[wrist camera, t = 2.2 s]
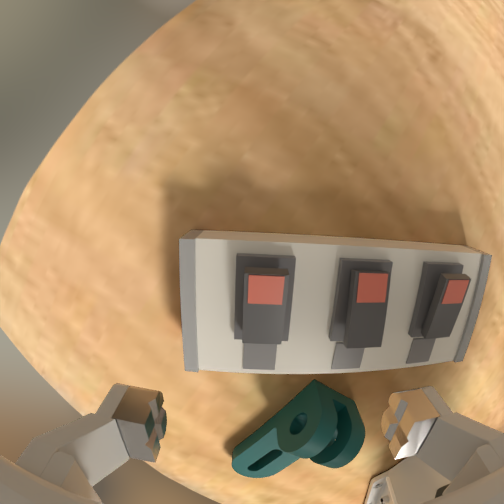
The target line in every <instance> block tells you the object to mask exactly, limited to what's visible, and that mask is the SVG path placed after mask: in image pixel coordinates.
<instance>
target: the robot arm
mask: <svg viewBox="0 0 504 504" xmlns="http://www.w3.org/2000/svg"><path fill="white" fill-rule="evenodd" d="M163 402H164V399H163V394H162V392H161V391H156V390H150V389H145V388H140V387H135V386H128V385H124V384H119V383H116V384H114V385H113V386H112V388H111V389H110V391H109V393H108V394H107V396H106V397H105V399H104V400H103V402H102V404H101V405H100V407H99V408H98V410H97V412H96V413H95V414H93V413H90V414H88V415H86V416H83V417H81V418H79V419H77V420H75V421H72V422H70V423H68V424H66V425H63V426H61V427H59V428H56V429H54V430H52V431H49V432H47V433H45V434H42V435H40V436H37V437H35V438H33V439H32V441H31V442H30V444H29V445H28V446H27V448H26V449H25V450H24V452H23V453H22V455H21V456H20V458H19V459H18V461H17V462H16V463H15V464H14V463H12V462H11V461H9V460H7V459H5V458H4V457H2V456H1V455H0V504H103V503H101V500H100V498H99V497H98V495H97V494H96V492H95V491H94V489H93V488H92V486H93V485H95V484H96V483H98V482H99V481H100V480H102V479H103V478H105V477H106V476H107V475H109V474H110V473H111V472H113V471H114V470H116V469H117V468H118V467H120V466H121V465H122V464H123V463H125V462H126V461H127V460H129V458H134V459H139V460H144V461H150V462H156V459H157V456H158V453H159V450H160V444H159V440H161V439H162V438H164V435H165V431H166V425H167V416H166V411H165V410H164V409H163V408H162V404H163ZM388 403H389V405H390V406H389V407H388V408H387V409H386V410H385V411H384V413H383V416H382V419H381V429H382V433H383V435H384V437H385V438H387V439H389V440H390V443H389V449H390V451H391V453H392V455H393V458H394V460H395V459H400V458H405V457H408V458H406V459H404V460H403V461H401V462H400V463H398V464H397V465H396V466H394V467H393V468H391V469H390V470H388V471H386V472H384V473H382V474H380V475H378V476H376V477H374V478H373V479H372V480H371V482H370V486H369V489H368V493H367V496H366V499H365V502H364V504H504V433H502V432H500V431H497V430H495V429H493V428H490V427H488V426H486V425H483V424H481V423H479V422H477V421H474V420H472V419H470V418H468V417H466V416H463V415H461V414H459V413H457V412H456V413H453V412H452V411H451V410H450V408H449V407H448V406H447V404H446V403H445V402H444V400H443V399H442V398H441V396H440V395H439V394H438V392H437V391H436V390H435V388H434V387H432V386H427V387H422V388H418V389H413V390H407V391H400V392H394V393H392V394H391V396H390V398H389V400H388Z"/></svg>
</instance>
